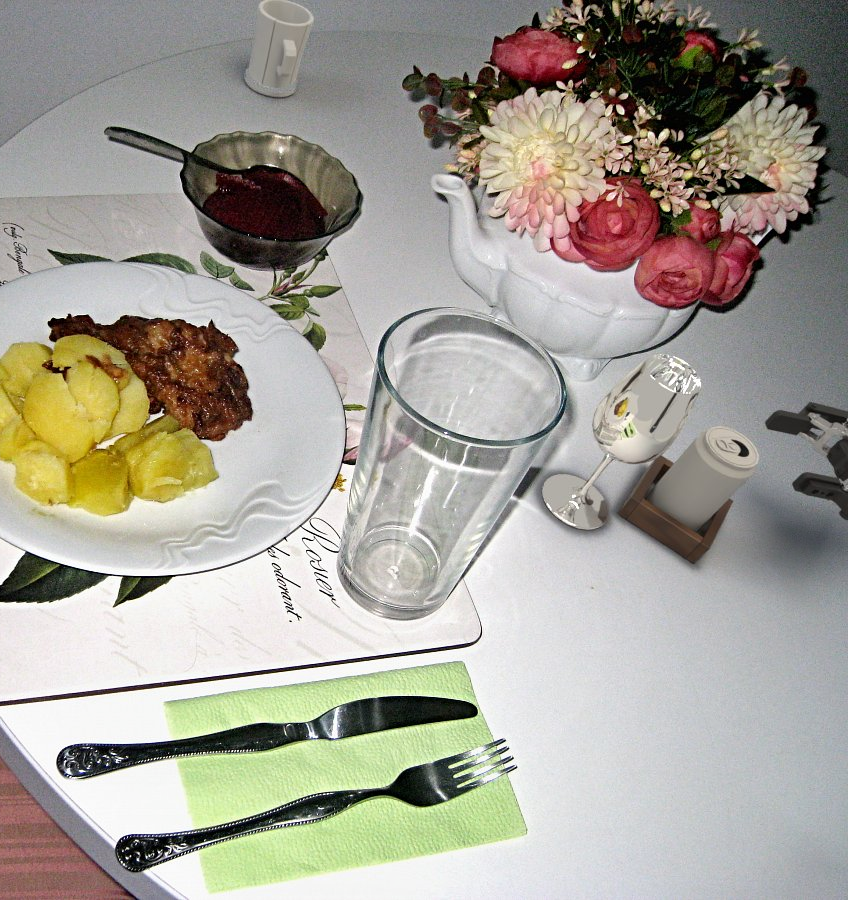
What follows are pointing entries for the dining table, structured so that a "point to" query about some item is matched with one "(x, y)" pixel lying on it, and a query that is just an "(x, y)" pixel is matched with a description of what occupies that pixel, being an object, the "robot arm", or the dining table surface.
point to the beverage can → (705, 476)
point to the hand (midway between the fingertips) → (783, 449)
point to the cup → (278, 44)
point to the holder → (669, 517)
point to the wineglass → (628, 433)
